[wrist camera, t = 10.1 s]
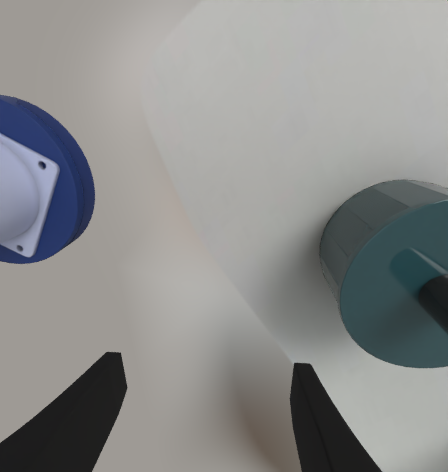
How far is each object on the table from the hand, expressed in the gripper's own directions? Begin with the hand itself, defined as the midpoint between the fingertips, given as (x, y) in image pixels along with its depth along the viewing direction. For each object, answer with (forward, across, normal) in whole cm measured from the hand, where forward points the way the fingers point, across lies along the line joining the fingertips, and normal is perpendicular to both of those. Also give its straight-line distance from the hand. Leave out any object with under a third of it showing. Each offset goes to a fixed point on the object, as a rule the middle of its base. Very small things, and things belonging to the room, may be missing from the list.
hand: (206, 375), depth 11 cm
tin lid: (+5, -12, -2) cm, 13 cm away
